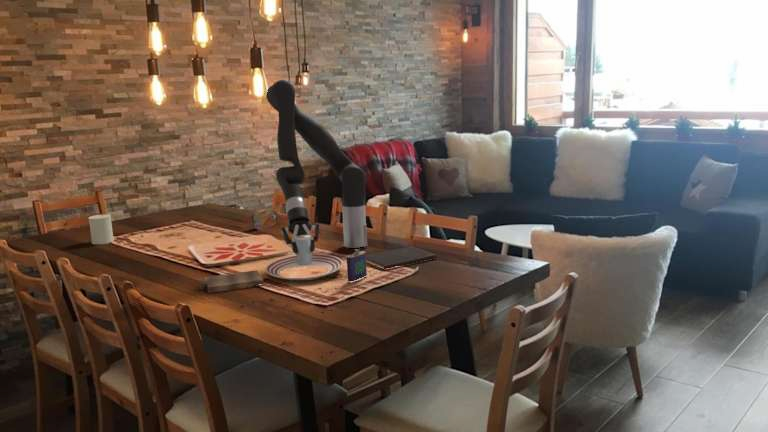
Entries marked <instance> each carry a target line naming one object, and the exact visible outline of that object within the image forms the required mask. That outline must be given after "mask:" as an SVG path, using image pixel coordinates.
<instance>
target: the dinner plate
mask: <svg viewBox="0 0 768 432" xmlns="http://www.w3.org/2000/svg"><path fill="white" fill-rule="evenodd" d="M311 259H312V263H311V264H310V265H304V266H315V265H316V266H318V265H319V266H323V267H328V270H329V269H330V270H329V271H328V272H327V273H325V274H322V275H319V276H314V277H307V278H286V277H283V276H281V275H280V274H281V273H280V271H283V270H284V269H287V268H294V267H297V268H298V267H299V266H300V267H302V265H297V256H296V254H294V255H290V256H286V257H281V258H277V259H276V260H274V261H272V262H270V263H268V264H267V265H266V266H265V272H266V273H267V275H270V276H272V277H274V278H278V279H282V280H287V281H294V280H305V281H310V280H309V279H313V280H317V279H316V278H318V279H321V278H320V277H322V278H325V277H326V276H329V275H332V274H334V273H335V272H337V271H339V270H340V269H342V267H343V266H344V261H343V260H342V258H340V257H337V256H335V255H331V254H324V253H323V254H322V253H311Z"/></svg>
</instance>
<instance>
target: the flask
mask: <svg viewBox="0 0 768 432" xmlns="http://www.w3.org/2000/svg"><path fill="white" fill-rule="evenodd" d="M353 250H355V251H354V252H353V253H352V254H349V255H347V256H346V270H347V271H346V274H347V282H348V281H354V280H357V279H359V278H362V277H364V276H366V275H367V276H368V273H367V272H368V271H367V263H366V256H367V254H366V251H365V250H364V251H363V250H362V251H361V250H360V249H353Z"/></svg>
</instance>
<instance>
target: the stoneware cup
mask: <svg viewBox="0 0 768 432" xmlns="http://www.w3.org/2000/svg"><path fill="white" fill-rule="evenodd" d="M310 238H311V236H310V235H308V234H300V235H297V236H295V241H296V245H297V254H295V255H296V256H297V265H302V266H304V265H310V264H311V263H312V259H311V254H312V252H311V244H310Z"/></svg>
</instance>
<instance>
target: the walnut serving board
mask: <svg viewBox="0 0 768 432" xmlns="http://www.w3.org/2000/svg"><path fill="white" fill-rule="evenodd" d="M259 284H264V279H263V277H262V276H261V274H260V273H259V271H258V270H249V271H241V272H234V273H233V272H232V273H227V274H220V275H219V274H218V275H212V276H206V277H204V281H201V282H199V289H200V290H207V293H208V294H212V293H219V292H226V291H234V290H241V289H248V288H254V287H253V286H255V285H259ZM247 287H248V288H247ZM255 287H256V286H255Z"/></svg>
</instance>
